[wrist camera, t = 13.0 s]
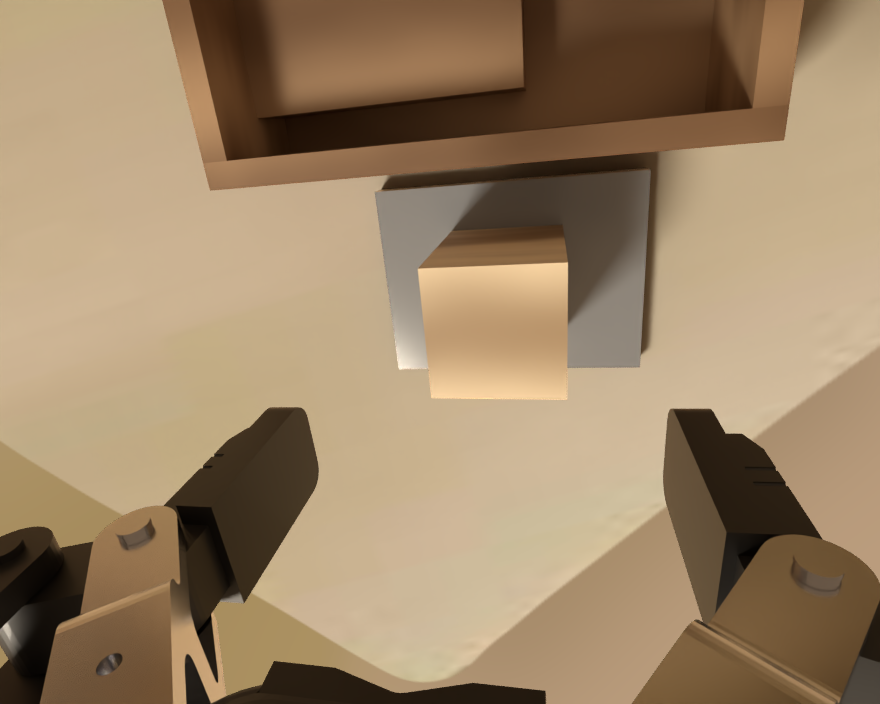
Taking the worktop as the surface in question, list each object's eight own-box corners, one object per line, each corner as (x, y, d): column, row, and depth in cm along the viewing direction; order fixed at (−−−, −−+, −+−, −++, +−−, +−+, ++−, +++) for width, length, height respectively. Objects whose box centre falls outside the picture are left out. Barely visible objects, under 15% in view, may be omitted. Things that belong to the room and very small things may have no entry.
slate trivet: (380, 189, 25) (374, 191, 24) (646, 168, 23) (650, 169, 22) (403, 361, 29) (398, 369, 28) (636, 359, 26) (639, 367, 25)
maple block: (451, 231, 24) (417, 268, 18) (562, 224, 23) (567, 262, 17) (459, 332, 26) (431, 398, 20) (562, 330, 25) (567, 399, 19)
